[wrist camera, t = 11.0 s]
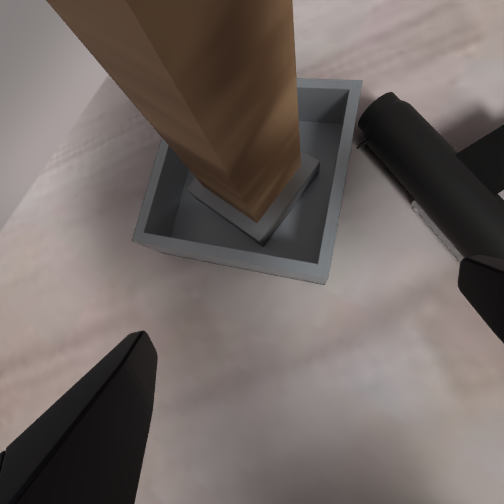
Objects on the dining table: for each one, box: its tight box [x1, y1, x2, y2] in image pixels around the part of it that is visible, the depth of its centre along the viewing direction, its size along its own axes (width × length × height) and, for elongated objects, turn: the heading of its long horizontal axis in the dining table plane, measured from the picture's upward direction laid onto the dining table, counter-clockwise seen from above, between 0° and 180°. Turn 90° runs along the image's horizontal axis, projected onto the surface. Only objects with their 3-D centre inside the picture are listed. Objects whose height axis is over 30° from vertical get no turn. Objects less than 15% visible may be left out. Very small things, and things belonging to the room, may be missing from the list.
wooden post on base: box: [46, 0, 320, 247], centre depth 12 cm, size 6×6×14 cm
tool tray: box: [132, 78, 363, 285], centre depth 18 cm, size 11×11×4 cm
